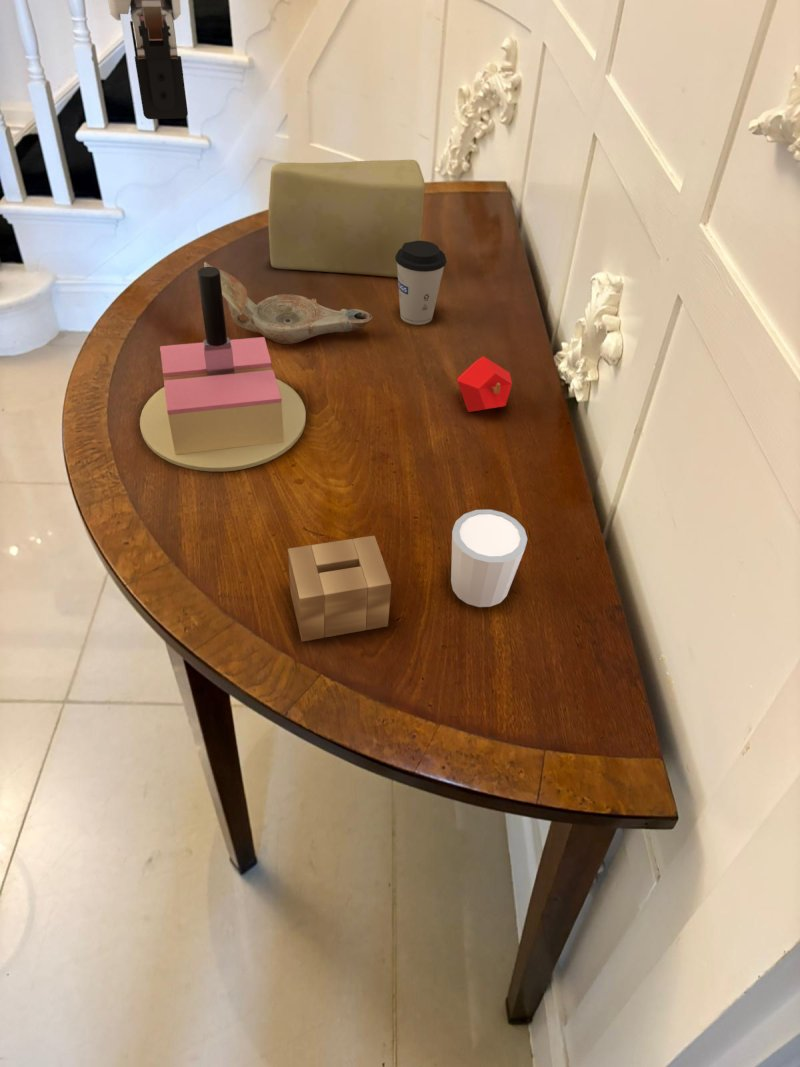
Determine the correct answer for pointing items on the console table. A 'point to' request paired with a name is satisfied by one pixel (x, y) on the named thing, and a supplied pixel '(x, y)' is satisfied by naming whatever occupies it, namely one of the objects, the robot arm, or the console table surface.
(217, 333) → the knife
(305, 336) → the oil lamp
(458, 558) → the white cylinder
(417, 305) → the coffee cup
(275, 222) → the cheese
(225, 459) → the cake
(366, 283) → the console table surface
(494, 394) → the apple
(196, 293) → the console table surface
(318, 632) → the knife block
